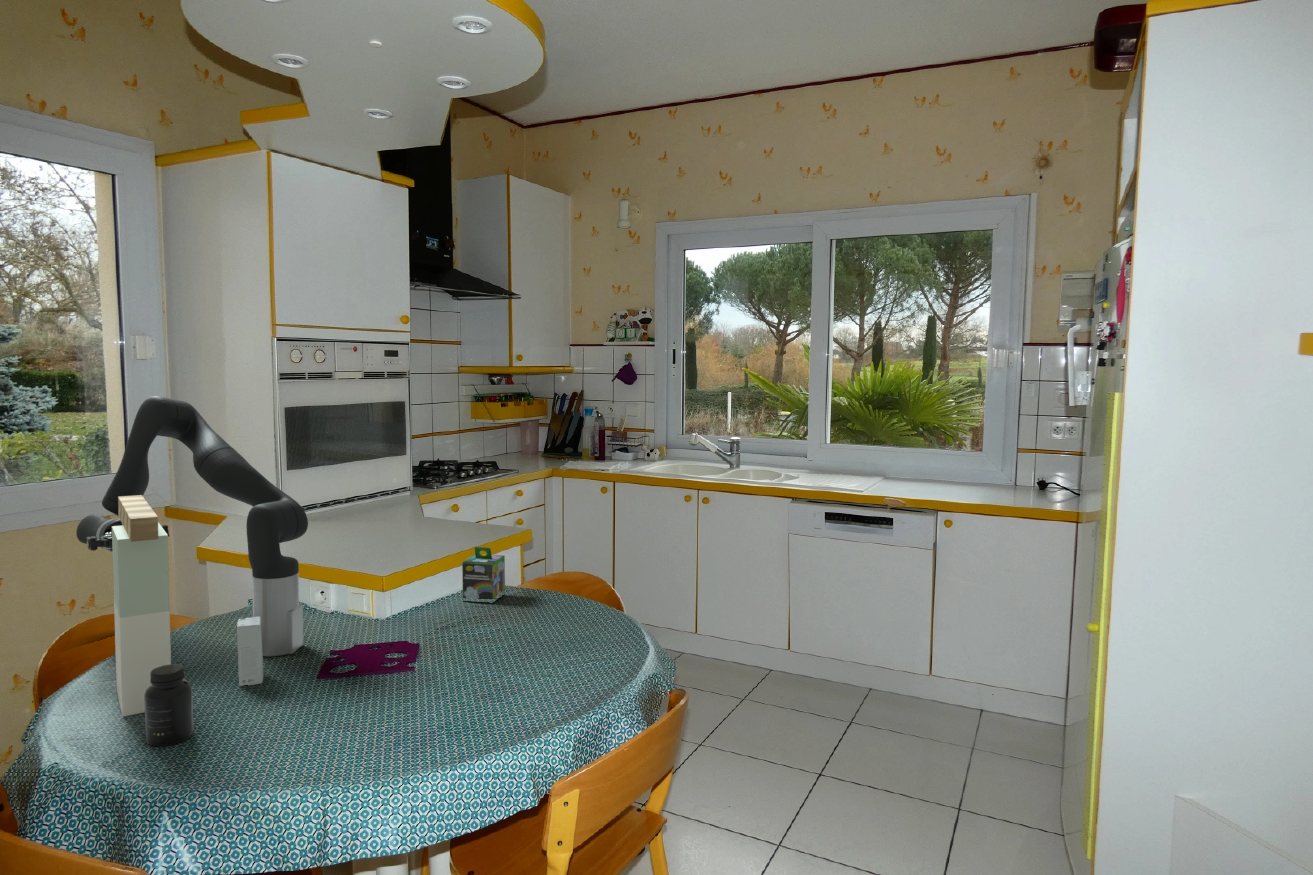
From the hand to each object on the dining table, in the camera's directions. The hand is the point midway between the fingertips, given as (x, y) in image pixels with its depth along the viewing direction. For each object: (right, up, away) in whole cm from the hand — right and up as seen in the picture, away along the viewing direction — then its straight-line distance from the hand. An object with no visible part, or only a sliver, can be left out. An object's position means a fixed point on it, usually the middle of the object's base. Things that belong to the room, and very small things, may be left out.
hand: (135, 538), depth 161 cm
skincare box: (+27, -28, -6) cm, 39 cm away
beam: (+10, +4, -15) cm, 19 cm away
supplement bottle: (+26, -30, -31) cm, 50 cm away
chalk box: (+60, -24, +54) cm, 85 cm away
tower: (+12, -28, -15) cm, 34 cm away
